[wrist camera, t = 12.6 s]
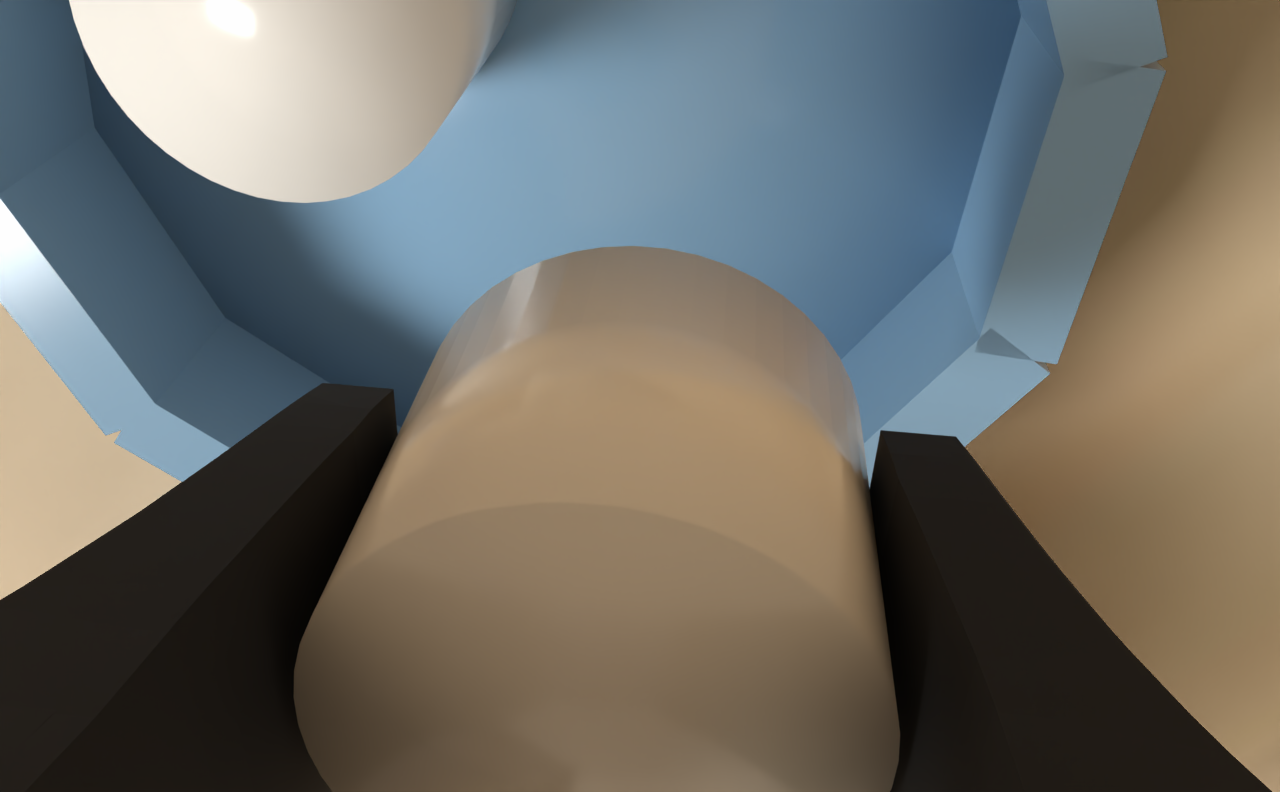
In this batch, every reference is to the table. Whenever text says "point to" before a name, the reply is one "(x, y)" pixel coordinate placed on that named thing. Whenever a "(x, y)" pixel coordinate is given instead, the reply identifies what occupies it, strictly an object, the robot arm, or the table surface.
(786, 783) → the beige rounded cylinder
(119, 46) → the off-white rounded cylinder
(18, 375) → the table surface
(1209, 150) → the table surface
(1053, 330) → the bowl
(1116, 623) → the table surface
